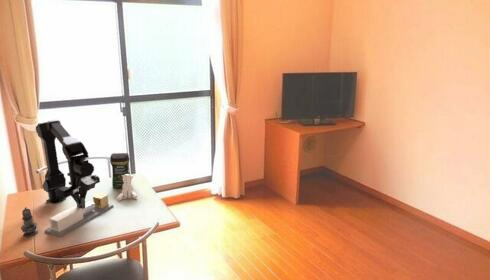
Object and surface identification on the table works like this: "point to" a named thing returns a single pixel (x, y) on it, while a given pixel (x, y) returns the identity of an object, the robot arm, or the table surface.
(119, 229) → the table surface
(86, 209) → the steel t-shaped block
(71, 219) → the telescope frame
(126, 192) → the seated beast figurine
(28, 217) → the dark grey statuette
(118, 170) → the coffee jar
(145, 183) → the table surface
